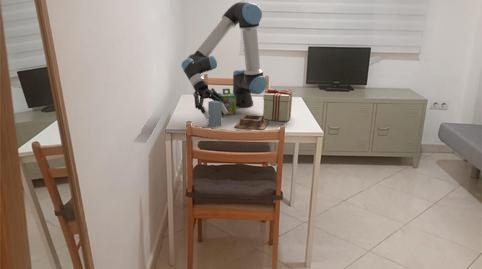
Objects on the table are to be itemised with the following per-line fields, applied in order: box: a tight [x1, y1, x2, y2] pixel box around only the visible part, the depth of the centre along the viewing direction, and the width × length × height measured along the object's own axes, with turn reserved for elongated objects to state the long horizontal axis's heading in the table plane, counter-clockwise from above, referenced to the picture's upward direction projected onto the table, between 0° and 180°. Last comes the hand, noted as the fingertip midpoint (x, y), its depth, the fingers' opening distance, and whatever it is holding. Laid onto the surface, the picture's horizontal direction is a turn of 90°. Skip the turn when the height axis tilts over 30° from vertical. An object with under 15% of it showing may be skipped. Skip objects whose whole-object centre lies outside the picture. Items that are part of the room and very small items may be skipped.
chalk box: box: [217, 88, 237, 116], centre depth 265 cm, size 9×9×15 cm
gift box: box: [262, 87, 294, 122], centre depth 259 cm, size 17×18×17 cm
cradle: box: [234, 113, 270, 131], centre depth 243 cm, size 16×16×4 cm
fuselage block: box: [207, 100, 222, 128], centre depth 240 cm, size 5×5×13 cm
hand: (217, 115), depth 239 cm, fingers open, 13 cm apart
